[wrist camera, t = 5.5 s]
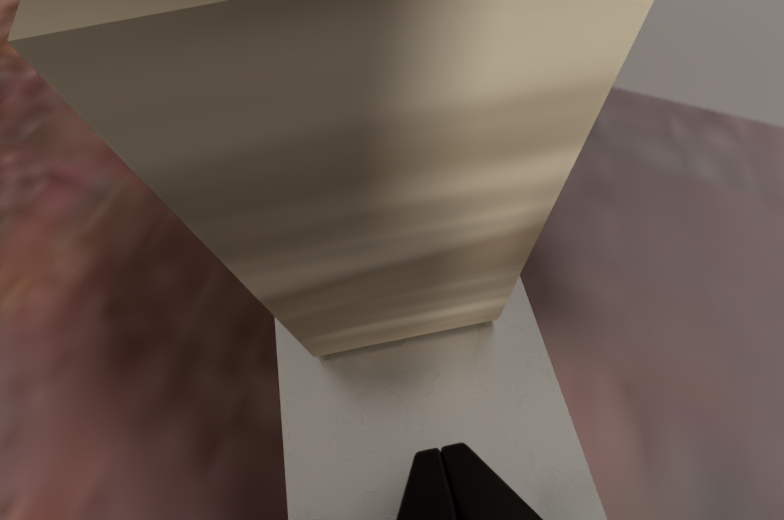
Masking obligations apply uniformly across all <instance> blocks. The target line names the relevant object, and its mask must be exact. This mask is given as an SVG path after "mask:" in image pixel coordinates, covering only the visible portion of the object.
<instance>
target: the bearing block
mask: <svg viewBox="0 0 784 520" xmlns="http://www.w3.org/2000/svg"><path fill="white" fill-rule="evenodd" d="M275 332H276V347H277V361H278V376H279V391H280V406H281V420H282V435H283V450H284V464H285V479H286V494H287V509H288V520H396V518H397V514H398V511H399V507H400V504H401V500H402V497H403V493H404V490H405V486H406V483H407V479H408V476H409V472H410V469H411V465H412V462H413V458H414V456H415V454H416V453H417V452H418V451H422V450H427V449H432V448H438V449H439V450H440V452H441V448H442V447H443V446H446V445H451V444H455V443H460V442H463V443H465V444H466V445H468V446H469V447H470V448H471V449H472V450H473V451H474V452H475V453H476V454H477V455H478V456H479V457H480V458H481V459H482V460H483V461H484V462H485V463H486V464H487V465H488V466H489V467H490V468H491V469H492V470H493V471H494V472H495V473H496V474H497V475H498V476H499V477H500V478H501V479H502V480H503V481H504V482H505V483H506V484H507V485H509V486H510V487H511V488H512V489H513V490H514V491H515V492H516V493H517V494H518V495H519V496H520V497H521V498H522V499H523V500H524V501H525V502H526V503H527V504H528V505H529V506H530V507H531V508H532V509H533V510H534V511H535V512H536V513H537V514H538V515H539V516H540V517H541V518H542V519H543V520H607V518H606V515H605V512H604V509H603V507H602V504H601V501H600V498H599V495H598V493H597V490H596V487H595V484H594V481H593V479H592V476H591V473H590V470H589V467H588V465H587V462H586V459H585V456H584V454H583V451H582V448H581V445H580V442H579V440H578V437H577V434H576V431H575V428H574V426H573V423H572V420H571V417H570V414H569V412H568V409H567V406H566V403H565V400H564V398H563V395H562V392H561V389H560V386H559V384H558V381H557V378H556V375H555V372H554V370H553V367H552V364H551V361H550V358H549V356H548V353H547V350H546V347H545V344H544V342H543V339H542V336H541V333H540V330H539V328H538V325H537V322H536V319H535V317H534V314H533V311H532V308H531V305H530V303H529V300H528V297H527V294H526V291H525V289H524V286H523V283H522V280H521V277H520V276H519V278H518V280H517V282H516V284H515V286H514V288H513V290H512V292H511V294H510V296H509V298H508V300H507V302H506V304H505V306H504V308H503V310H502V312H501V315H500V317H499V319H497V320H492V321H487V322H482V323H477V324H472V325H468V326H463V327H458V328H453V329H448V330H443V331H438V332H433V333H429V334H424V335H419V336H414V337H409V338H404V339H399V340H394V341H389V342H385V343H380V344H375V345H370V346H365V347H360V348H355V349H350V350H346V351H341V352H336V353H331V354H326V355H321V356H316V357H313V356H312V355H311V354H310V353H309V352H308V351H307V349H306V348H305V347H304V346H303V345H302V344H301V343H300V342H299V341H298V340H297V339H296V338H295V337H294V336H293V335H292V334H291V333H290V332H289V331H288V330H287V329H286V328H285V327H284V326H283V325H282V324H281V323H280V322H279V321H278V320H277V319H276V318H275Z"/></svg>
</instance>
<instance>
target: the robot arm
mask: <svg viewBox="0 0 784 520" xmlns="http://www.w3.org/2000/svg"><path fill="white" fill-rule="evenodd" d="M396 520H543V519H542V518H541V517H540V516H539V515H538V514H537V513H536V512H535V511H534V510H533V509H532V508H531V507H530V506H529V505H528V504H527V503H526V502H525V501H524V500H523V499H522V498H521V497H520V496H519V495H518V494H517V493H516V492H515V491H514V490H513V489H512V488H511V487H510V486H509V485H507V484H506V483H505V482H504V481H503V480H502V479H501V478H500V477H499V476H498V475H497V474H496V473H495V472H494V471H493V470H492V469H491V468H490V467H489V466H488V465H487V464H486V463H485V462H484V461H483V460H482V459H481V458H480V457H479V456H478V455H477V454H476V453H475V452H474V451H473V450H472V449H471V448H470V447H469V446H468V445H466V444H465V443H463V442H460V443H455V444H451V445H446V446H443V447H442V448H441V452H440V450H439V449H438V448H432V449H427V450H422V451H418V452H417V453H416V454H415V456H414V458H413V462H412V465H411V469H410V472H409V476H408V479H407V483H406V486H405V490H404V493H403V497H402V500H401V504H400V507H399V511H398V514H397V518H396Z"/></svg>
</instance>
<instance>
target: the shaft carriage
mask: <svg viewBox="0 0 784 520" xmlns="http://www.w3.org/2000/svg"><path fill="white" fill-rule="evenodd" d="M653 1H654V0H21V1H20V4H19V7H18V10H17V13H16V16H15V19H14V22H13V25H12V28H11V31H10V34H9V37H8V40H7V42H8V43H9V44H10V45H11V46H12V47H13V48H14V49H15V50H16V51H17V52H18V53H19V54H20V55H21V56H22V57H23V58H24V59H25V60H26V61H27V62H28V63H29V65H30V66H31V67H32V68H33V69H34V70H35V71H36V72H37V73H38V74H39V75H40V76H41V77H42V78H43V79H44V80H45V81H46V82H47V83H48V84H49V85H50V86H51V87H52V88H53V89H54V90H55V91H56V92H57V93H58V94H59V95H60V96H61V97H62V98H63V99H64V101H65V102H66V103H67V104H68V105H69V106H70V107H71V108H72V109H73V110H74V111H75V112H76V113H77V114H78V115H79V116H80V117H81V118H82V119H83V120H84V121H85V122H86V123H87V124H88V125H89V126H90V127H91V128H92V129H93V130H94V131H95V132H96V133H97V134H98V135H99V137H100V138H101V139H102V140H103V141H104V142H105V143H106V144H107V145H108V146H109V147H110V148H111V149H112V150H113V151H114V152H115V153H116V154H117V155H118V156H119V157H120V158H121V159H122V160H123V161H124V162H125V163H126V164H127V165H128V166H129V167H130V168H131V169H132V170H133V172H134V173H135V174H136V175H137V176H138V177H139V178H140V179H141V180H142V181H143V182H144V183H145V184H146V185H147V186H148V187H149V188H150V189H151V190H152V191H153V192H154V193H155V194H156V195H157V196H158V197H159V198H160V199H161V200H162V201H163V202H164V203H165V204H166V205H167V206H168V208H169V209H170V210H171V211H172V212H173V213H174V214H175V215H176V216H177V217H178V218H179V219H180V220H181V221H182V222H183V223H184V224H185V225H186V226H187V227H188V228H189V229H190V230H191V231H192V232H193V233H194V234H195V235H196V236H197V237H198V238H199V239H200V240H201V241H202V242H203V244H204V245H205V246H206V247H207V248H208V249H209V250H210V251H211V252H212V253H213V254H214V255H215V256H216V257H217V258H218V259H219V260H220V261H221V262H222V263H223V264H224V265H225V266H226V267H227V268H228V269H229V270H230V271H231V272H232V273H233V274H234V275H235V276H236V277H237V278H238V280H239V281H240V282H241V283H242V284H243V285H244V286H245V287H246V288H247V289H248V290H249V291H250V292H251V293H252V294H253V295H254V296H255V297H256V298H257V299H258V300H259V301H260V302H261V303H262V304H263V305H264V306H265V307H266V308H267V309H268V310H269V311H270V312H271V313H272V315H273V316H274V317H275V318H276V319H277V320H278V321H279V322H280V323H281V324H282V325H283V326H284V327H285V328H286V329H287V330H288V331H289V332H290V333H291V334H292V335H293V336H294V337H295V338H296V339H297V340H298V341H299V342H300V343H301V344H302V345H303V346H304V347H305V348H306V349H307V351H308V352H309V353H310V354H311V355H312V356H313V357H316V356H321V355H326V354H331V353H336V352H341V351H346V350H350V349H355V348H360V347H365V346H370V345H375V344H380V343H385V342H389V341H394V340H399V339H404V338H409V337H414V336H419V335H424V334H429V333H433V332H438V331H443V330H448V329H453V328H458V327H463V326H468V325H472V324H477V323H482V322H487V321H492V320H497V319H499V317H500V315H501V312H502V310H503V308H504V306H505V304H506V302H507V300H508V298H509V296H510V294H511V292H512V290H513V288H514V286H515V284H516V282H517V280H518V278H519V276H520V274H521V272H522V269H523V267H524V265H525V263H526V261H527V259H528V257H529V255H530V253H531V251H532V249H533V247H534V245H535V243H536V241H537V239H538V237H539V235H540V233H541V231H542V229H543V226H544V224H545V222H546V220H547V218H548V216H549V214H550V212H551V210H552V208H553V206H554V204H555V202H556V200H557V198H558V196H559V194H560V192H561V190H562V188H563V186H564V183H565V181H566V179H567V177H568V175H569V173H570V171H571V169H572V167H573V165H574V163H575V161H576V159H577V157H578V155H579V153H580V151H581V149H582V147H583V145H584V143H585V140H586V138H587V136H588V134H589V132H590V130H591V128H592V126H593V124H594V122H595V120H596V118H597V116H598V114H599V112H600V110H601V108H602V106H603V104H604V102H605V100H606V98H607V95H608V93H609V91H610V89H611V87H612V85H613V83H614V81H615V79H616V77H617V75H618V73H619V71H620V69H621V67H622V65H623V63H624V61H625V59H626V57H627V54H628V52H629V50H630V48H631V46H632V44H633V42H634V40H635V38H636V36H637V34H638V32H639V30H640V28H641V26H642V24H643V22H644V19H645V18H646V16H647V14H648V12H649V9H650V7H651V5H652V3H653Z"/></svg>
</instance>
